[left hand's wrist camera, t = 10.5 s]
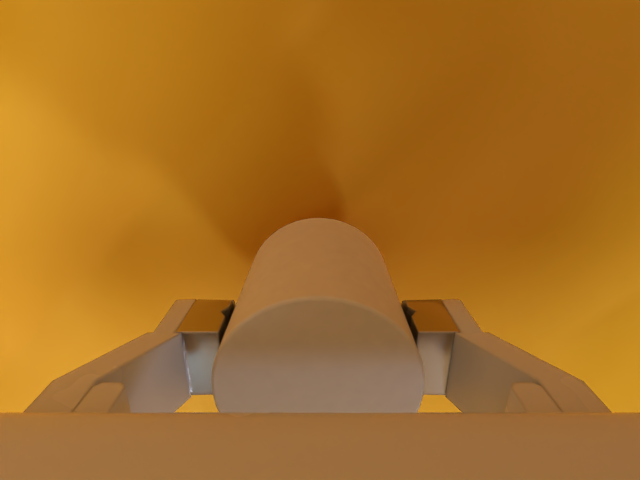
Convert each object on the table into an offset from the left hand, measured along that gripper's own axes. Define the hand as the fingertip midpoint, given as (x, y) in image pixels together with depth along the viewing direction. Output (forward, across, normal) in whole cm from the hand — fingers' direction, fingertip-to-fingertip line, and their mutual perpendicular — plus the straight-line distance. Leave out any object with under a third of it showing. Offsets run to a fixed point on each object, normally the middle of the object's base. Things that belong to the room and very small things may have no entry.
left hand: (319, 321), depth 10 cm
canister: (+2, 0, 0) cm, 2 cm away
